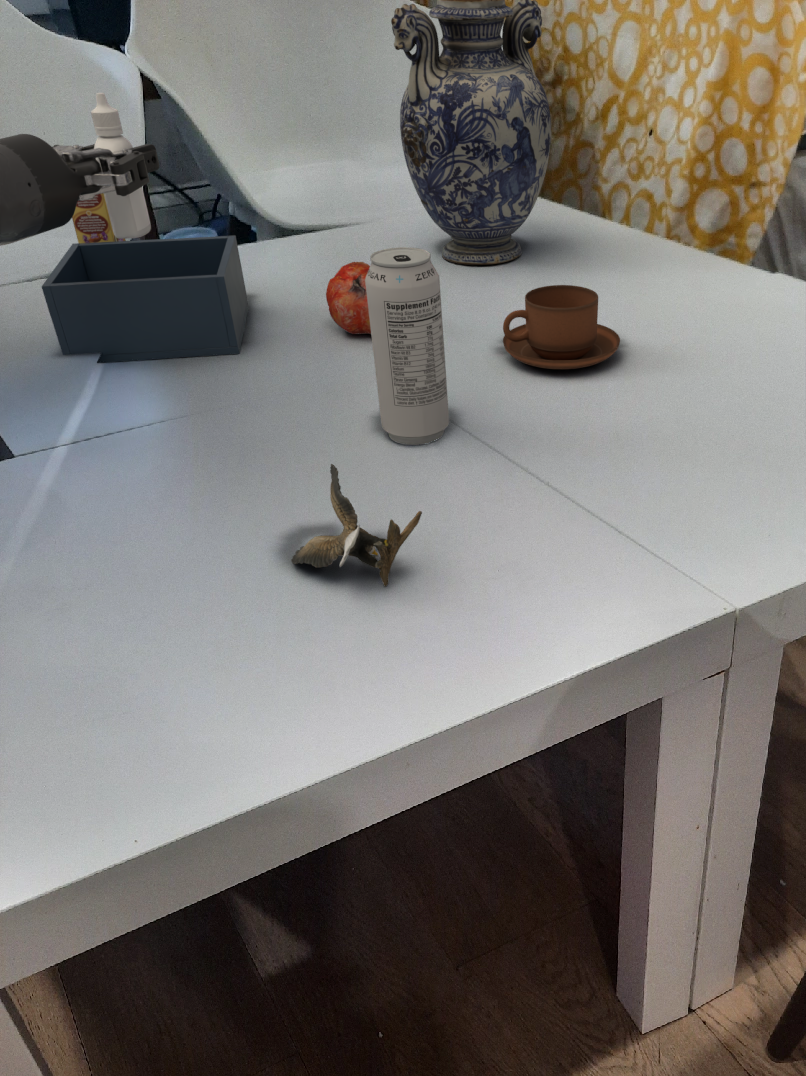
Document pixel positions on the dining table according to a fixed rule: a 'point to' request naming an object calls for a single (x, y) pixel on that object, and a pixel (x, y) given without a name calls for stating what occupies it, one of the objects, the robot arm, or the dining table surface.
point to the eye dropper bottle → (123, 210)
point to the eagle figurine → (353, 538)
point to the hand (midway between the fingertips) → (133, 154)
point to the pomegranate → (350, 298)
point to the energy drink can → (408, 344)
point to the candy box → (93, 221)
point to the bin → (149, 299)
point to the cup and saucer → (560, 329)
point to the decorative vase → (474, 122)
